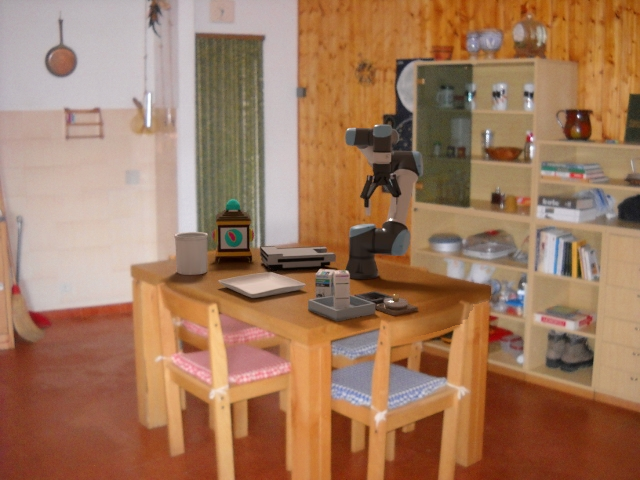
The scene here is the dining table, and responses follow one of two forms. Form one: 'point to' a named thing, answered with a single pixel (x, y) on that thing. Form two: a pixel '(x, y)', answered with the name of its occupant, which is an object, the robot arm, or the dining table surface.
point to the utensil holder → (191, 253)
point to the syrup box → (341, 289)
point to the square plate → (262, 284)
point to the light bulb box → (324, 283)
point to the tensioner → (388, 303)
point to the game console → (296, 258)
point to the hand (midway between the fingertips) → (380, 214)
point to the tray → (326, 309)
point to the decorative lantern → (233, 232)
